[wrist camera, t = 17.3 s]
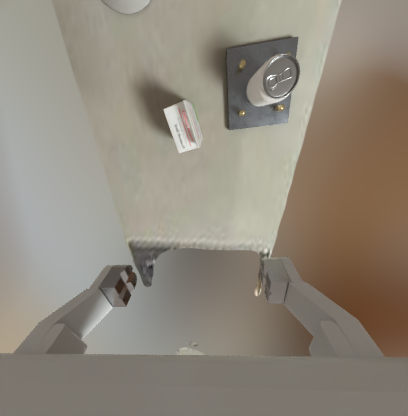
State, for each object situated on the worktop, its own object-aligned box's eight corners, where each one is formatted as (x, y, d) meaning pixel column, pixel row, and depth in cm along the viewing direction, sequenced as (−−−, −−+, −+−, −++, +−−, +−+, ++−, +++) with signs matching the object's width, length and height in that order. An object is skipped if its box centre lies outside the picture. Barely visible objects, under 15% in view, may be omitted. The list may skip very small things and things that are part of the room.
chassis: (226, 51, 34) (228, 42, 30) (294, 39, 32) (306, 29, 28) (228, 129, 41) (230, 130, 37) (285, 122, 40) (293, 123, 36)
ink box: (174, 110, 39) (156, 106, 27) (193, 103, 39) (184, 95, 26) (186, 145, 43) (175, 157, 31) (203, 140, 43) (200, 149, 30)
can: (241, 81, 35) (254, 66, 24) (271, 63, 33) (298, 38, 23) (251, 112, 38) (266, 110, 27) (279, 97, 36) (306, 88, 26)
